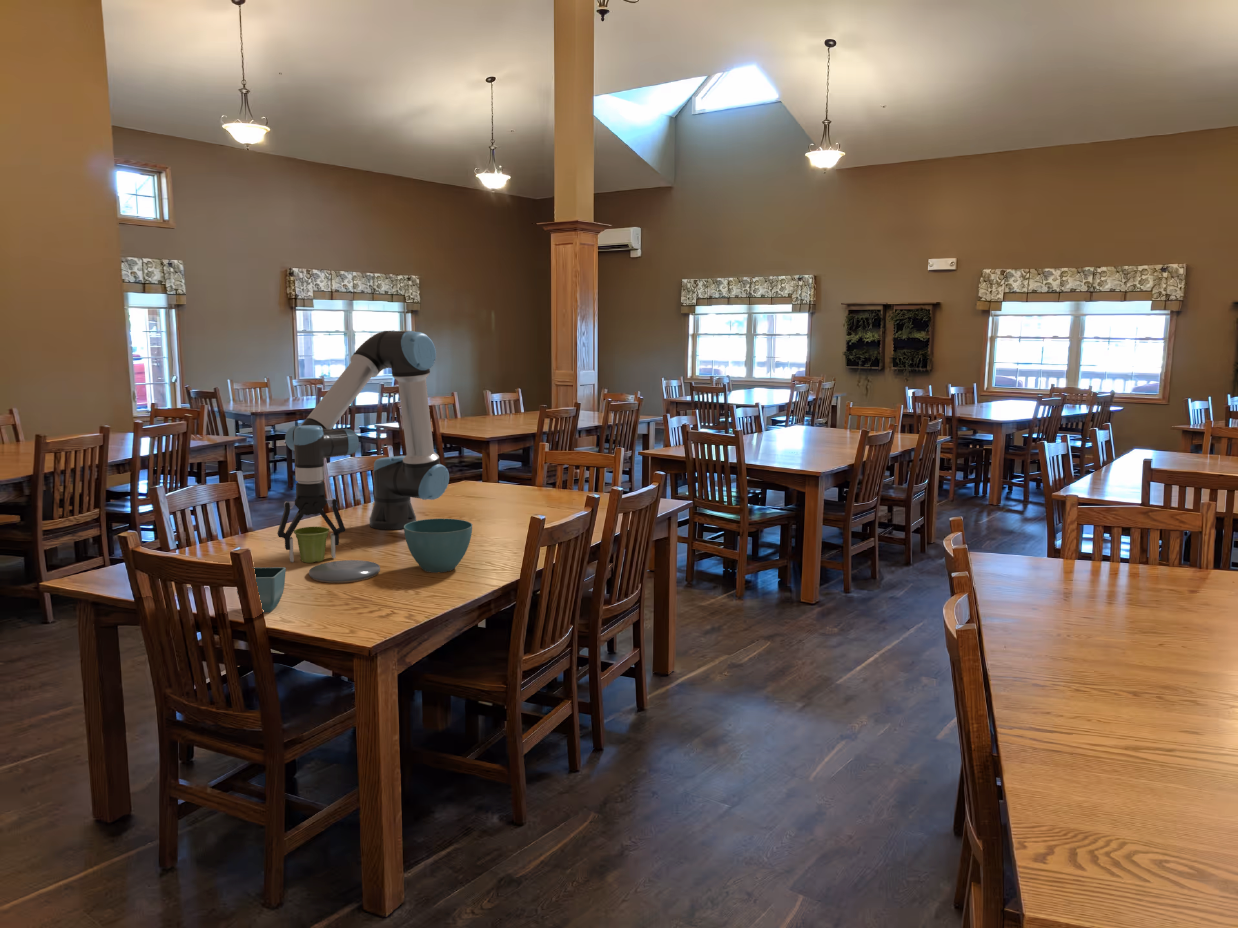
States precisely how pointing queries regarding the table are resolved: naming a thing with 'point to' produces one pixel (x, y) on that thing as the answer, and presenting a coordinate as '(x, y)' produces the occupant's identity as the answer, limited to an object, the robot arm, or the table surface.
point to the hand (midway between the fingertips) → (312, 558)
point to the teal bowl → (438, 542)
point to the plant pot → (312, 543)
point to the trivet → (344, 571)
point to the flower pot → (270, 586)
